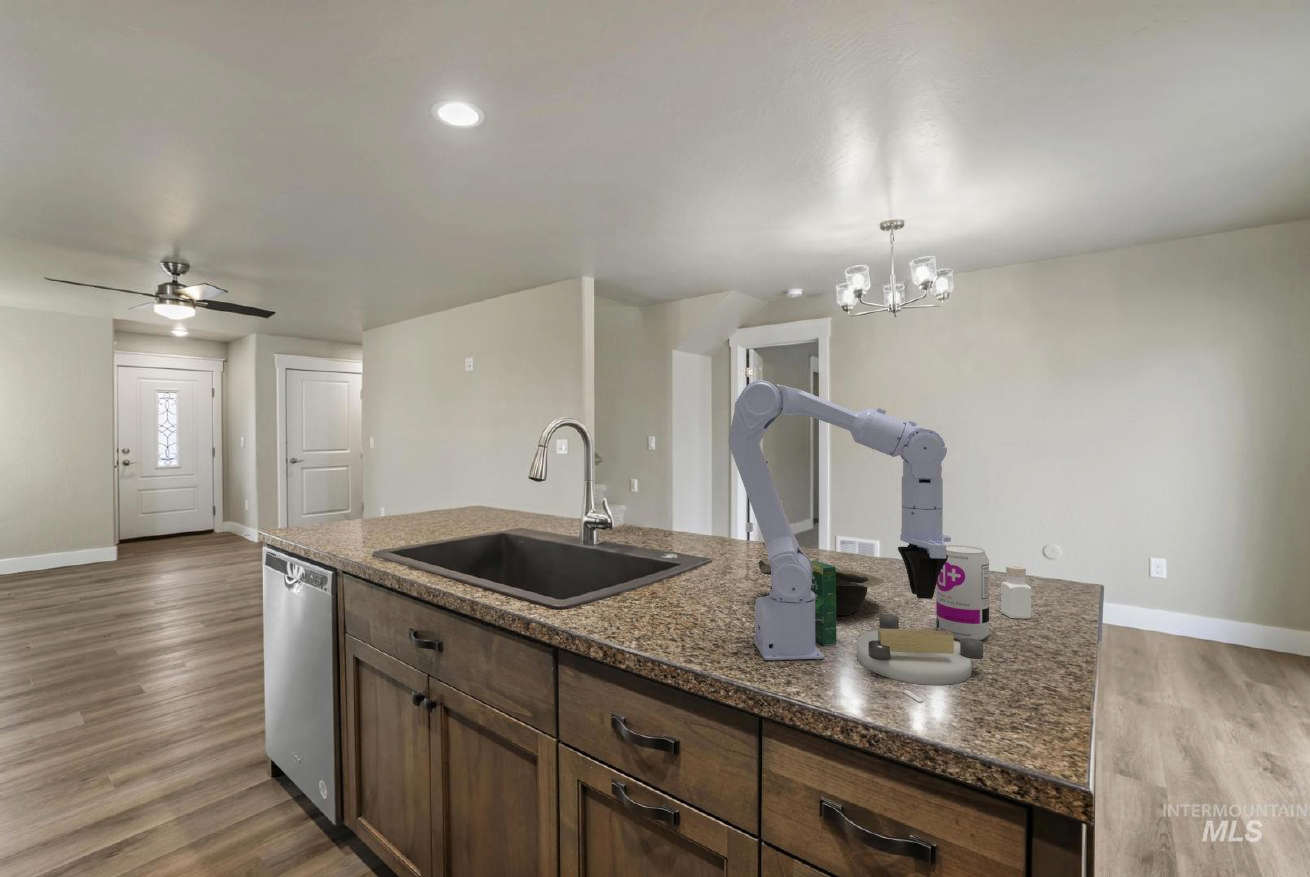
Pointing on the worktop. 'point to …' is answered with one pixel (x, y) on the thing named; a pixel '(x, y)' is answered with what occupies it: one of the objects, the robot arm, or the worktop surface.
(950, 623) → the supplement can
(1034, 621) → the worktop surface
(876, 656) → the lever
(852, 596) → the stone bowl
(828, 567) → the coffee box
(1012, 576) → the salt shaker
